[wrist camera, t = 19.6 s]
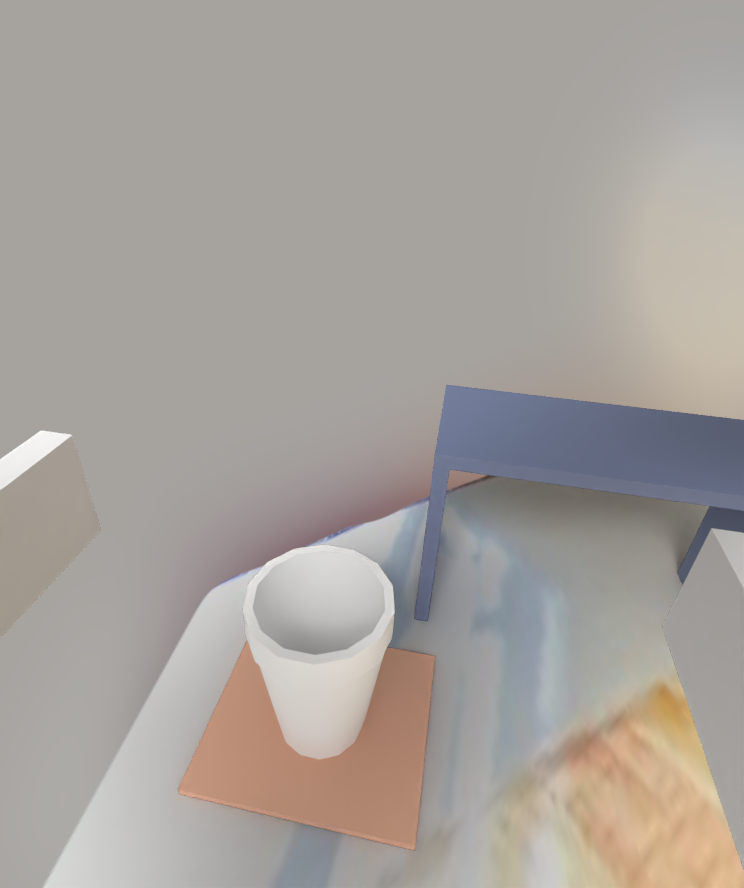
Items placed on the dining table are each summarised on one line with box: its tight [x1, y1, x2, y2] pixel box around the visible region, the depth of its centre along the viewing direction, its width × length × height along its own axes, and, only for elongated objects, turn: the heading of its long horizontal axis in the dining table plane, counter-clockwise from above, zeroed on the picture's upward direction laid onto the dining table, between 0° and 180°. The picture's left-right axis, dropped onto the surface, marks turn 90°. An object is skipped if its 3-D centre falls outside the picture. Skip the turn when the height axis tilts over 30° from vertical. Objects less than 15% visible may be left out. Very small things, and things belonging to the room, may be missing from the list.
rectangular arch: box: [414, 385, 744, 621], centre depth 47 cm, size 27×12×18 cm, turn 79°
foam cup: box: [242, 545, 395, 759], centre depth 37 cm, size 10×9×13 cm
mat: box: [178, 640, 435, 851], centre depth 40 cm, size 16×14×1 cm
